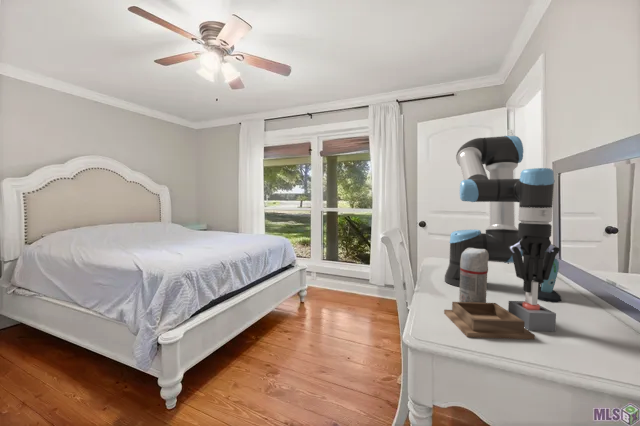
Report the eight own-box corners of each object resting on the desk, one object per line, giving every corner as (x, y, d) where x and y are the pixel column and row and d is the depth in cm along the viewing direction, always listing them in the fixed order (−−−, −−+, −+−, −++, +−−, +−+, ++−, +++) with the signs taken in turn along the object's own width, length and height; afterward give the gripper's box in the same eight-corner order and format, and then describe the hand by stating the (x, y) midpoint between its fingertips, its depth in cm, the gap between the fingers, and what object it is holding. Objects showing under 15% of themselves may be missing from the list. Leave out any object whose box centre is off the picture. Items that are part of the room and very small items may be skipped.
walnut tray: (444, 313, 86) (444, 300, 85) (499, 315, 85) (499, 301, 84) (467, 337, 71) (467, 321, 70) (534, 339, 70) (535, 323, 70)
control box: (508, 316, 84) (508, 300, 83) (531, 317, 83) (532, 301, 83) (528, 330, 75) (529, 312, 74) (555, 331, 74) (556, 313, 74)
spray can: (491, 313, 86) (493, 251, 85) (463, 311, 87) (465, 250, 86) (481, 304, 94) (483, 247, 93) (455, 302, 95) (457, 246, 95)
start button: (518, 309, 81) (519, 301, 81) (532, 309, 81) (533, 301, 80) (528, 314, 77) (528, 306, 77) (543, 315, 77) (543, 306, 76)
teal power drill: (543, 302, 96) (546, 246, 95) (518, 291, 107) (520, 241, 106) (568, 302, 96) (571, 246, 95) (540, 291, 108) (542, 241, 107)
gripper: (520, 223, 74) (516, 307, 75) (569, 224, 73) (565, 308, 74) (503, 221, 82) (500, 297, 83) (548, 221, 81) (544, 299, 82)
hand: (531, 303), depth 79 cm, fingers closed
